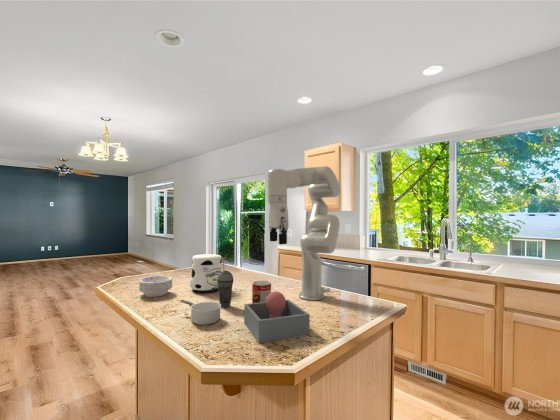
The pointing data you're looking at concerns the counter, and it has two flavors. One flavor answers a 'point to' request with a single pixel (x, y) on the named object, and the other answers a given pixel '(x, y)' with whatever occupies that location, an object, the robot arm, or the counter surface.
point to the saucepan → (204, 312)
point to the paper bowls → (155, 285)
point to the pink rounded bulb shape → (275, 304)
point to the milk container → (205, 272)
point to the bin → (276, 322)
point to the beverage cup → (225, 287)
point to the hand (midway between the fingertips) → (278, 242)
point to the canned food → (260, 291)
